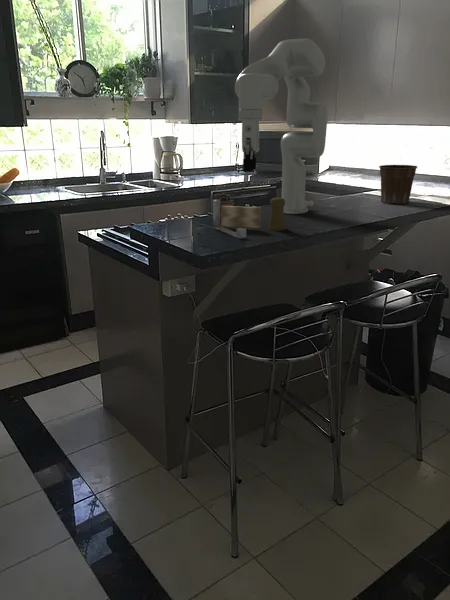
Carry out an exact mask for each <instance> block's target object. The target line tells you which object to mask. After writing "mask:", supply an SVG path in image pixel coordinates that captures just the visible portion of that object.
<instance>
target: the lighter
mask: <svg viewBox="0 0 450 600" xmlns="http://www.w3.org/2000/svg"><path fill="white" fill-rule="evenodd" d="M213 198H214V199H216V200H220V220H221V206H234V199H231V194H225V193H224V192H223V193H222V194H221V193H217V194H216V193H215V194H213ZM214 199H212V201H211V203H212V204H213V200H214Z"/></svg>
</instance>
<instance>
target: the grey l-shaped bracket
mask: <svg viewBox="0 0 450 600" xmlns="http://www.w3.org/2000/svg"><path fill="white" fill-rule="evenodd" d="M212 200H213V203H212V221H213V229H214V230H217V231H219V230H220V232H222V233H224V234H227V235H229V236H232V237H235V238H236V239H247V228H246V227H237V228H236V227H235V228H236V229H235V230H236V231H234V230H231V229H228V228H226V227H225V226H221V221H220V200H221V199H219V200H217V199H212Z"/></svg>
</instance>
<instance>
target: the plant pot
mask: <svg viewBox="0 0 450 600" xmlns="http://www.w3.org/2000/svg"><path fill="white" fill-rule="evenodd" d="M378 167H379V174H380V202H381V203H382V202H383V204H386V203H389V204H388V205H393V204H396V205H406V204H409V203H410V198H411V192H412V187H413V183H414V178H415V175H416V172H417V169H418V165H411V164H382V165H379V166H378Z"/></svg>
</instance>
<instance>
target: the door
mask: <svg viewBox="0 0 450 600" xmlns="http://www.w3.org/2000/svg"><path fill="white" fill-rule="evenodd" d="M261 218H262V207H260V206H237V205H235V206H234V205H233V206H221V221H220V226H221V227H233V228H234V227H235V228H236V227H237V228H254V229H255V228H256V229H260V228H261V227H262V226H261V225H262V223H261V222H262V221H261V220H262V219H261Z"/></svg>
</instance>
